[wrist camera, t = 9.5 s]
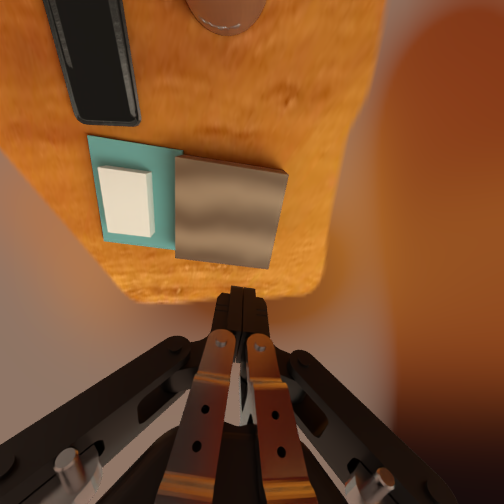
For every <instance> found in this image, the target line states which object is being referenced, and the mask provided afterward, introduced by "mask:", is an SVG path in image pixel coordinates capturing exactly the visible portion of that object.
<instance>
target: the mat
mask: <svg viewBox="0 0 504 504" xmlns="http://www.w3.org/2000/svg"><path fill="white" fill-rule="evenodd" d="M87 138H88V144H89V150H90V156H91V163H92V169H93V175H94V181H95V188H96V194H97V200H98V206H99V213H100V219H101V225H102V231H103V238H104V241H107V242H115V243H123V244H131V245H139V246H147V247H155V248H163V249H172V250H175V157H176V156H180V155H183V150H178V149H171V148H165V147H159V146H153V145H147V144H141V143H134V142H128V141H122V140H116V139H110V138H104V137H97V136H91V135H87ZM106 165H107V166H114V167H121V168H128V169H135V170H142V171H149V172H152V186H153V203H154V221H155V233H154V234H153V235H152V236H151V237H143V236H135V235H127V234H118V233H110V232H108V230H107V224H106V217H105V211H104V205H103V199H102V192H101V186H100V180H99V174H98V167H101V166H106Z"/></svg>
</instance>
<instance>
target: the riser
mask: <svg viewBox="0 0 504 504" xmlns="http://www.w3.org/2000/svg"><path fill="white" fill-rule="evenodd" d="M288 176H289V175H288V174H287V173H286V172H285V171H284V170H277V169H271V168H265V167H259V166H253V165H246V164H240V163H234V162H228V161H221V160H215V159H209V158H203V157H196V156H190V155H184V154H183V155H180V156H176V157H175V258H179V259H187V260H195V261H203V262H212V263H220V264H228V265H236V266H245V267H253V268H261V269H268V268H269V264H270V259H271V254H272V250H273V245H274V241H275V236H276V231H277V227H278V222H279V217H280V213H281V208H282V204H283V199H284V194H285V190H286V185H287V180H288Z"/></svg>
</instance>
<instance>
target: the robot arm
mask: <svg viewBox="0 0 504 504" xmlns="http://www.w3.org/2000/svg"><path fill="white" fill-rule="evenodd" d="M186 1H187V4H188V6H189V8H190V10H191V11H192V13H193V14H194V16H195V17H196V19H197V20H198V21H199V22H200V23H201V24H202V25H203V26H204V27H205V28H207V29H208V30H210V31H212V32H213V33H216V34H219V35H225V36H231V35H236V34H239V33H241V32H243V31H245V30H247V29H248V28H249V27H250V26H251V25H253V24H254V23H255V21H256V20H257V18H258V17H259V16H260V14H261V12H262V10H263V8H264V6H265V3H266V0H186ZM267 315H268V314H267V306H266V303H265V301H264V300H263V298H259V297H256V293H255V289H253V288H246V287H244V288H243V287H238V286H231V291H230V294H228V293H221V294H220V295H219V296H218V298H217V302H216V307H215V313H214V318H213V323H212V329H211V332H210V334H209V335H208V336H207V337H206V338H204V339H202V340H200V341H195V342H189V340H188V339H186V338H185V337H182V336H172V337H169V338H167V339H165V340H164V341H162V342H161V343H159V344H157V345H156V346H154V347H153V348H151V349H150V350H148V351H147V352H145V353H143V354H142V355H140V356H139V357H137V358H135V359H134V360H133V361H131V362H129V363H128V364H126V365H125V366H123V367H122V368H120V369H118V370H117V371H115V372H114V373H112V374H111V375H109V376H107V377H106V378H104V379H103V380H101V381H100V382H98V383H96V384H95V385H93V386H92V387H90V388H89V389H87V390H86V391H84V392H82V393H81V394H79V395H78V396H76V397H74V398H73V399H71V400H70V401H68V402H67V403H65V404H64V405H62V406H60V407H59V408H57V409H56V410H54V411H53V412H51V413H49V414H48V415H46V416H45V417H43V418H42V419H40V420H39V421H37V422H35V423H34V424H32V425H31V426H29V427H28V428H26V429H24V430H23V431H21V432H20V433H18V434H17V435H15V436H14V437H12V438H11V439H9V440H7V441H6V442H4V443H3V444H1V445H0V504H87V503H88V502H89V501H90V500H91V499H92V498H93V496H94V495H95V493H96V492H97V490H98V488H99V486H100V483H101V480H102V474H103V471H102V467H103V466H104V465H106V463H108V462H109V461H110V460H111V459H112V458H113V457H114V456H115V455H116V454H118V453H119V452H120V451H121V450H122V449H123V448H124V447H125V446H126V445H128V444H129V443H130V442H131V441H132V440H133V439H134V438H135V437H136V436H138V434H140V433H141V432H142V431H143V430H144V429H145V428H146V427H147V426H149V424H151V423H152V422H153V421H154V420H155V419H156V418H157V417H159V416H160V415H161V414H162V413H163V412H164V411H165V410H166V409H167V408H168V407H169V406H171V405H172V403H174V402H175V401H176V400H177V399H178V398H179V397H181V396H182V395H183V394H184V393H185V391H186V390H188V389H190V392H189V396H188V399H187V402H186V405H185V409H184V412H183V415H182V418H181V422H180V425H179V426H177V427H175V428H173V429H171V430H169V431H167V432H166V433H164V434H163V435H162V436H161V437H159V438H158V439H157V440H156V441H155V442H154V443H153V444H152V445H151V446H150V447H149V448H148V449H147V450H146V451H145V452H144V454H142V455H141V456H140V458H139V459H138V460H137V461H136V462H135V463H134V464H133V465H132V466H131V467H130V468H129V469H128V470H127V471H126V472H125V473H124V474H123V475H122V476H121V477H120V478H119V480H117V482H116V483H115V484H114V485H113V486H112V487H111V488H110V489H109V490H108V491H107V492H106V493H105V494H104V495H103V496H102V497H101V498H100V499H99V500H98V501H97V502H96V504H458V503H457V500H456V498H455V496H454V494H453V493H452V491H451V490H450V488H449V487H448V485H447V484H446V483H445V482H444V481H443V480H442V478H440V476H438V474H436V473H435V472H434V471H433V470H432V469H431V468H430V467H429V466H428V465H427V464H426V463H425V462H424V461H423V460H422V459H421V458H420V457H419V456H418V455H416V454H415V453H414V452H413V451H412V450H411V449H410V448H409V447H408V446H407V445H406V444H405V443H404V442H403V441H402V440H401V439H400V438H398V436H396V435H395V434H394V433H393V432H392V431H391V430H390V429H389V428H388V427H387V426H386V425H385V424H384V423H383V422H382V421H380V419H378V418H377V417H376V416H375V415H374V414H373V413H372V412H371V411H370V410H369V409H368V408H367V407H366V406H365V405H364V404H363V403H362V402H361V401H360V400H359V399H358V398H357V397H355V396H354V395H353V394H352V393H351V392H350V391H349V390H348V389H347V388H346V387H345V386H344V385H343V384H342V383H341V382H340V381H338V379H336V378H335V377H334V376H333V375H332V374H331V373H330V372H329V371H328V370H327V369H326V368H325V367H324V366H323V365H322V364H321V363H320V362H319V361H318V360H316V359H315V358H314V357H313V356H312V355H311V354H310V353H308V352H306V351H303V350H295V351H293V352H292V353H291V354H290V353H287V352H285V351H282V350H280V349H278V348H277V347H276V346H275V345H274V344H273V342H272V340H271V339H270V333H269V324H268V316H267ZM235 358H236V363H241V364H240V374H239V402H240V423H239V426H234V425H232V424H229V423H226V422H224V418H225V411H226V405H227V398H228V391H229V385H230V375H231V369H232V364H233V362H235ZM296 424H297V425H298V426H299V428H300V429H301V430H302V432H303V433H304V434H305V436H306V437H307V438H308V439H309V441H310V442H311V443H312V444H313V446H314V447H315V448H316V450H317V451H318V452H319V453H320V455H321V456H322V457H323V458H324V460H325V461H326V462H327V464H328V465H329V466H330V467H331V468H332V470H333V471H334V472H335V474H336V475H337V476H338V478H339V479H340V480H341V481H342V483H343V484H344V485H345V495H346V499H347V501H346V499H345V498H344V496H343V495H342V494H341V493H340V491H339V490H338V488H337V487H336V486H335V484H334V483H333V481H332V480H331V479H330V477H329V476H328V474H327V473H326V472H325V470H324V469H323V468H322V466H321V465H320V464H319V462H318V461H317V459H316V458H315V456H314V455H313V454H312V452H311V451H310V450H309V449H308V448H307V446H306V445H305V444H304V443H303V442H301V441H300V438H299V434H298V429H297V425H296Z"/></svg>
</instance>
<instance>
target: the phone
mask: <svg viewBox="0 0 504 504" xmlns="http://www.w3.org/2000/svg"><path fill="white" fill-rule="evenodd" d="M43 3H44V7H45V10H46V14H47V17H48V21H49V25H50V28H51V32H52V35H53V39H54V43H55V46H56V50H57V54H58V57H59V61H60V64H61V68H62V72H63V75H64V79H65V83H66V86H67V90H68V93H69V97H70V101H71V104H72V108H73V112H74V114H75V117H76V118H77V120H78V121H80V122H81V123H83V124H87V125H108V126H131V127H134V126H137V125H139V124H140V122H141V114H140V108H139V101H138V95H137V89H136V83H135V76H134V70H133V64H132V58H131V52H130V45H129V39H128V33H127V27H126V21H125V14H124V8H123V2H122V0H43Z"/></svg>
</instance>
